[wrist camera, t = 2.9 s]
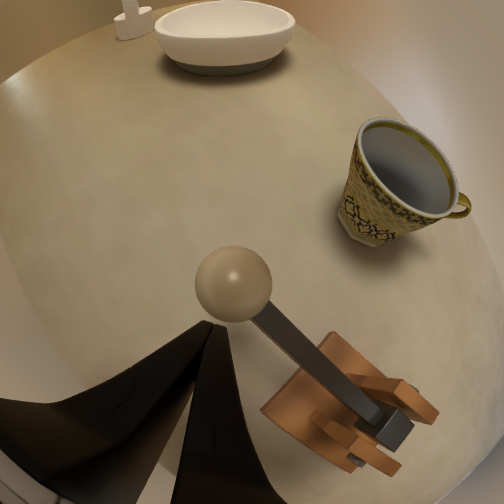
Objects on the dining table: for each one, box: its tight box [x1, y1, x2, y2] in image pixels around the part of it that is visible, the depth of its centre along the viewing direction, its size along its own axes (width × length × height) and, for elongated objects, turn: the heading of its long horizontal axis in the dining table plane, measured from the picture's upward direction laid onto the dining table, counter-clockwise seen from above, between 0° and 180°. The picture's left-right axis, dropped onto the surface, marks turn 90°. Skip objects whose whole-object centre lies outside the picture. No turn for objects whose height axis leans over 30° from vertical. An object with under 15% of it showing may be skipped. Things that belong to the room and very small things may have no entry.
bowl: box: [154, 1, 295, 76], centre depth 34 cm, size 22×22×8 cm
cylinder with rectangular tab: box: [114, 0, 154, 40], centre depth 37 cm, size 9×9×12 cm
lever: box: [195, 246, 415, 452], centre depth 12 cm, size 16×3×3 cm, turn 47°
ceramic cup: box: [338, 117, 471, 247], centre depth 22 cm, size 13×10×10 cm
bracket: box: [261, 331, 439, 477], centre depth 15 cm, size 11×9×10 cm
